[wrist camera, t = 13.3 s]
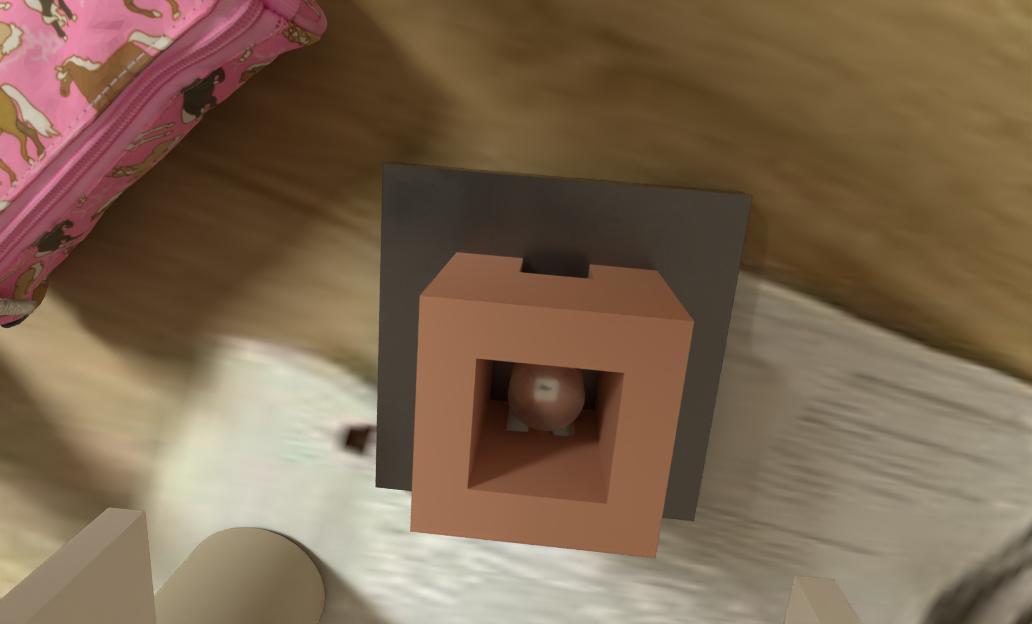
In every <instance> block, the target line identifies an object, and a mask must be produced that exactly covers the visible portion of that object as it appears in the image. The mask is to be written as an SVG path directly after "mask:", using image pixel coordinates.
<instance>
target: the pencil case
mask: <svg viewBox="0 0 1032 624" xmlns="http://www.w3.org/2000/svg"><path fill="white" fill-rule="evenodd" d="M326 28H327V19H326V16H325V14H324V12H323V11H322V9H321V8H320V7H319V5H318V4H317V3H316V1H315V0H0V325H1V327H4V328H10V327H12V326H15V325H18V324H20V323H21V322H22V321H24V320H25V319H26V318H27V317H28V316H29V314H31V313H33V312H34V310H35V309H36V308H37V307H38V306H39V305H40V304H41V302H42V300H43V299H44V297H45V294H46V291H47V288H48V284H49V276H50V273H51V271H52V270H53V269H54V268H55V267H56V266H57V265H59V264H60V263H61V262H62V261H63V260H64V259H65V258H67V257H68V255H69V254H70V253H71V252H72V251H73V250H74V248H75V247H76V245H77V244H79V243H80V242H81V241H83V240H84V239H85V238H86V236H87V235H88V234H89V233H90V232H91V230H92V229H93V227H94V226H95V224H96V223H97V221H98V220H99V219H100V218H101V216H102V215H103V214H104V212H105V210H106V209H108V208H109V207H110V206H111V204H112V203H113V202H114V201H115V200H116V199H117V198H118V197H119V196H120V195H121V194H122V193H123V192H124V191H125V190H126V189H128V188H129V187H130V186H132V185H133V184H134V183H135V182H137V181H138V180H139V179H140V178H141V177H143V176H144V175H145V174H146V173H147V172H149V171H150V170H151V169H152V168H153V167H154V166H155V165H156V164H158V163H159V162H160V161H161V160H162V159H163V158H164V157H165V156H166V155H167V154H168V153H169V152H170V151H171V150H172V149H173V148H174V147H175V146H176V145H177V144H178V143H179V142H180V141H181V140H182V139H183V138H184V137H185V136H186V135H187V133H188V132H189V131H190V130H191V129H192V128H193V127H194V126H195V125H196V124H197V123H198V122H199V121H200V120H201V119H202V118H203V117H204V115H205V114H206V112H207V111H208V110H209V109H212V108H215V107H216V106H217V105H219V104H220V103H221V102H223V101H224V100H225V99H226V98H228V97H229V96H230V95H231V94H232V93H233V92H234V91H235V90H237V89H238V88H239V87H240V86H241V85H242V84H244V83H245V82H246V81H247V80H248V79H250V78H251V77H252V76H253V75H255V74H256V73H257V72H259V71H260V70H262V69H263V68H264V67H266V66H267V65H268V64H270V63H271V62H272V61H273V60H275V59H276V58H277V56H278V55H279V54H282V53H284V52H286V51H290V50H293V49H297V48H301V47H305V46H308V45H311V44H313V43H315V42H317V41H319V40H320V39H321V36H322V34H323V33H324V32H325V31H326Z"/></svg>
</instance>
